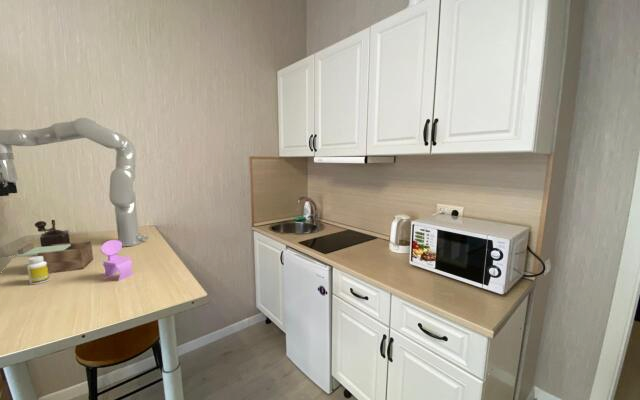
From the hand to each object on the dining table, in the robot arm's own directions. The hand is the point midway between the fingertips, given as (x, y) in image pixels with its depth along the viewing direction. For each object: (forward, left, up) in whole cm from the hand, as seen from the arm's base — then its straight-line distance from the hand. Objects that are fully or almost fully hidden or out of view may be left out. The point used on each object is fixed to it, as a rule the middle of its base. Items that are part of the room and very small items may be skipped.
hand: (8, 194), depth 128 cm
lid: (-20, +24, -22) cm, 38 cm away
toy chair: (-50, +44, -31) cm, 73 cm away
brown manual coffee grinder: (-14, +1, -31) cm, 34 cm away
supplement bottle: (-23, +38, -30) cm, 54 cm away
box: (-27, +24, -30) cm, 47 cm away
